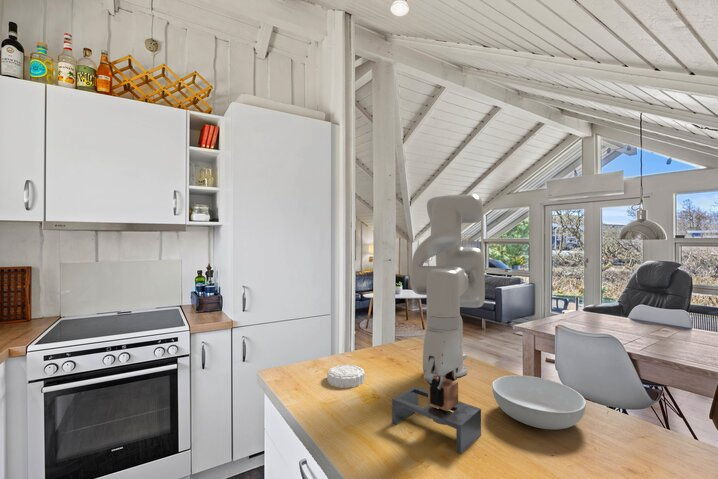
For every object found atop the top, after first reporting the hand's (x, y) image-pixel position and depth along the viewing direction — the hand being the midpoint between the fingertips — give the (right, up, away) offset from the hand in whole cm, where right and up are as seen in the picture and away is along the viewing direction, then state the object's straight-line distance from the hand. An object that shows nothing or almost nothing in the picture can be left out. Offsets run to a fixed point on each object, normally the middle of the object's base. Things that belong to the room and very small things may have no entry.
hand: (443, 399), depth 80 cm
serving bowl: (+25, -8, +7) cm, 27 cm away
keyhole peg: (0, -4, 0) cm, 4 cm away
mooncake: (-24, -8, +30) cm, 39 cm away
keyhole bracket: (-2, -8, +1) cm, 8 cm away
